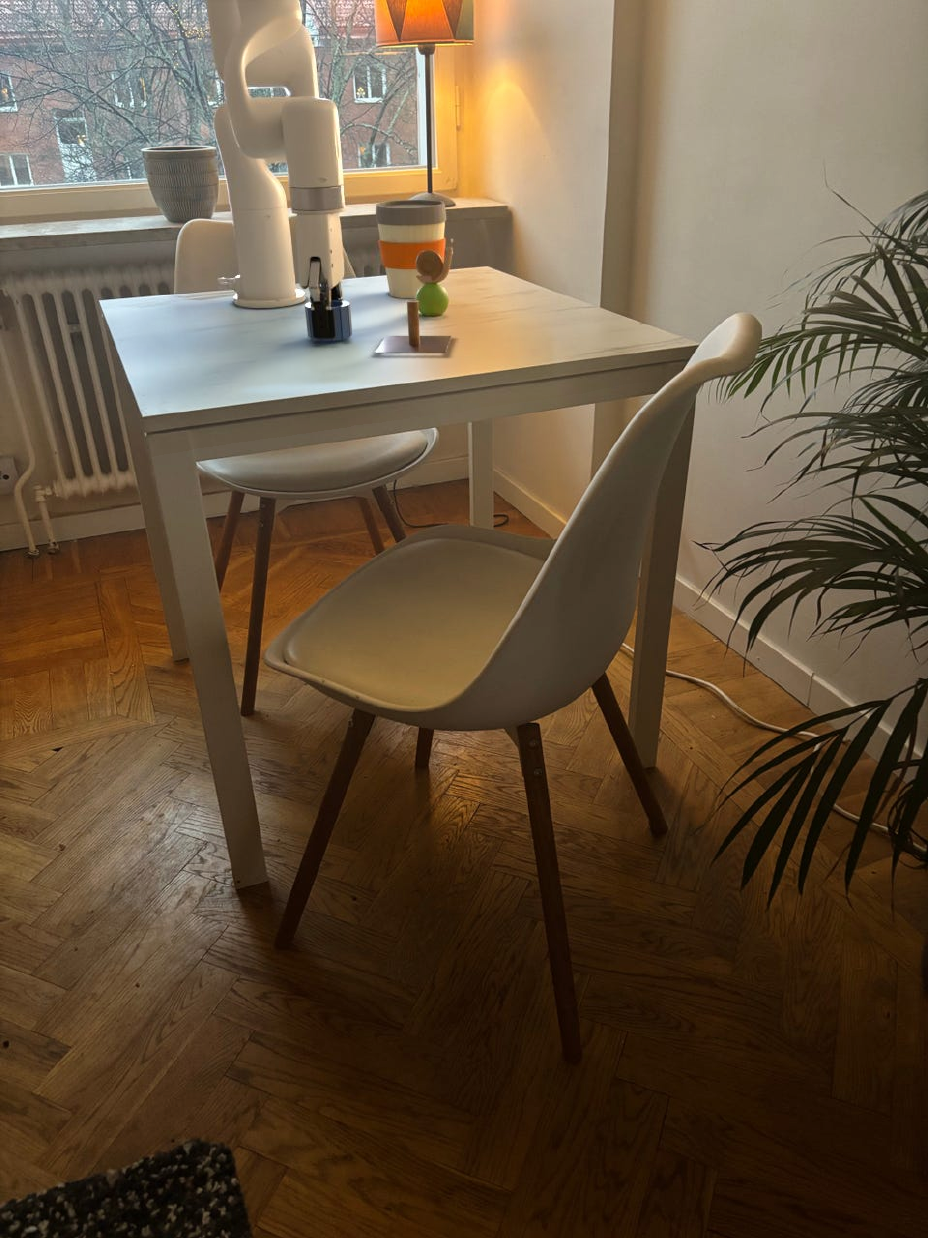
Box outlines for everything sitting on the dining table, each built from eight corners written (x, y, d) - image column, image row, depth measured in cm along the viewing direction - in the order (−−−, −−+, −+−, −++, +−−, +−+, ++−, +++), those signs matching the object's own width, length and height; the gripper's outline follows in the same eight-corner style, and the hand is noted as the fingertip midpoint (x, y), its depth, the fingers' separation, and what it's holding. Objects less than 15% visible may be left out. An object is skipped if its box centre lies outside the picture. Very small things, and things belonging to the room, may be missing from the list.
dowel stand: (375, 356, 132) (371, 308, 128) (385, 339, 140) (382, 293, 137) (445, 356, 131) (444, 308, 128) (451, 339, 140) (450, 293, 136)
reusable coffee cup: (447, 299, 165) (445, 207, 157) (376, 300, 165) (370, 208, 158) (449, 285, 176) (447, 198, 168) (383, 287, 176) (377, 200, 169)
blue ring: (304, 340, 136) (300, 308, 134) (313, 330, 142) (310, 299, 139) (347, 340, 136) (344, 308, 133) (355, 330, 141) (352, 299, 139)
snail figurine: (451, 321, 150) (449, 241, 144) (412, 320, 151) (408, 241, 145) (458, 314, 155) (456, 236, 149) (420, 313, 156) (417, 236, 150)
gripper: (305, 194, 137) (317, 319, 146) (275, 207, 122) (291, 346, 131) (355, 193, 137) (364, 319, 146) (332, 206, 122) (343, 346, 131)
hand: (329, 331), depth 138 cm, fingers closed on blue ring, 6 cm apart
